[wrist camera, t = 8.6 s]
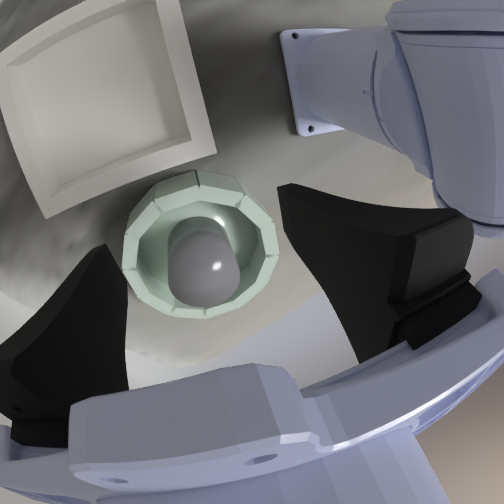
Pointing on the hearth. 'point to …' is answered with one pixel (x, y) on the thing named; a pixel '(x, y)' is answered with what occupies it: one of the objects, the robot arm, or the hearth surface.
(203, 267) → the grey short cylinder
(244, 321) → the hearth surface
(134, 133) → the parts tray
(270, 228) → the sage bowl
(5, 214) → the hearth surface
